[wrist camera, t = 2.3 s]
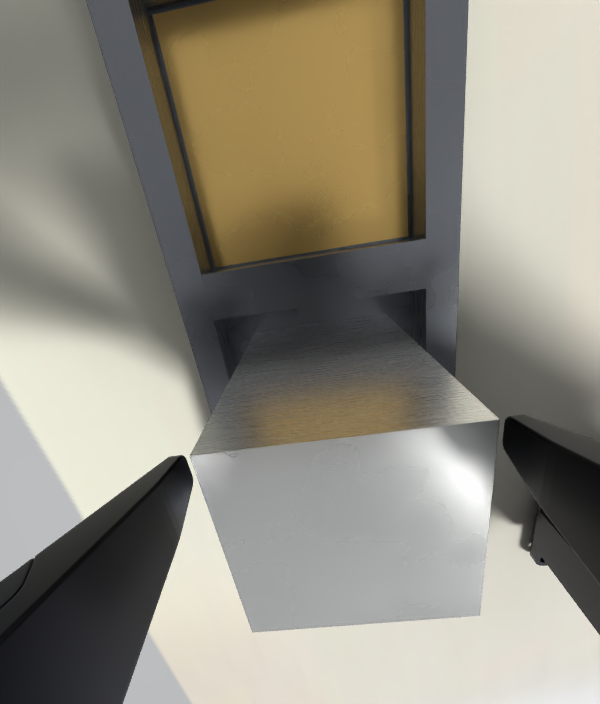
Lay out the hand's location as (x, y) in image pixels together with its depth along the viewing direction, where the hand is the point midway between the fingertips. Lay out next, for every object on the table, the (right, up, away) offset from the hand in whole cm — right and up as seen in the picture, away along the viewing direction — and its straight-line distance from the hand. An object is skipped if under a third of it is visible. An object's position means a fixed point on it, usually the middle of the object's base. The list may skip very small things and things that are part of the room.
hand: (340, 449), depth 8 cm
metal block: (0, +1, +4) cm, 4 cm away
